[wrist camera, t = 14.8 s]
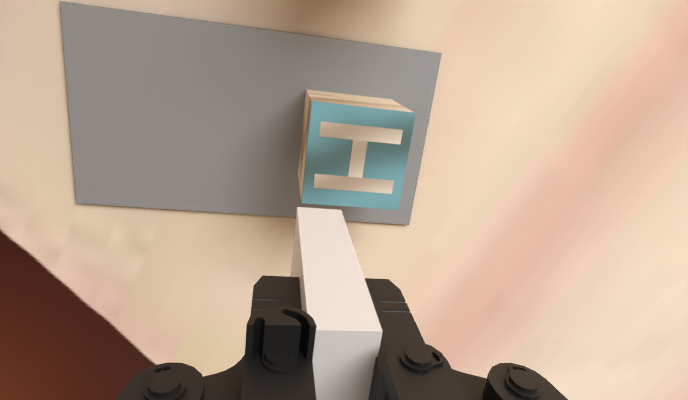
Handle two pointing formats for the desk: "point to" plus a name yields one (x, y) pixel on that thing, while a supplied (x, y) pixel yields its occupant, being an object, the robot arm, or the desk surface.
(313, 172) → the block
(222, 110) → the mat
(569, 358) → the desk surface
